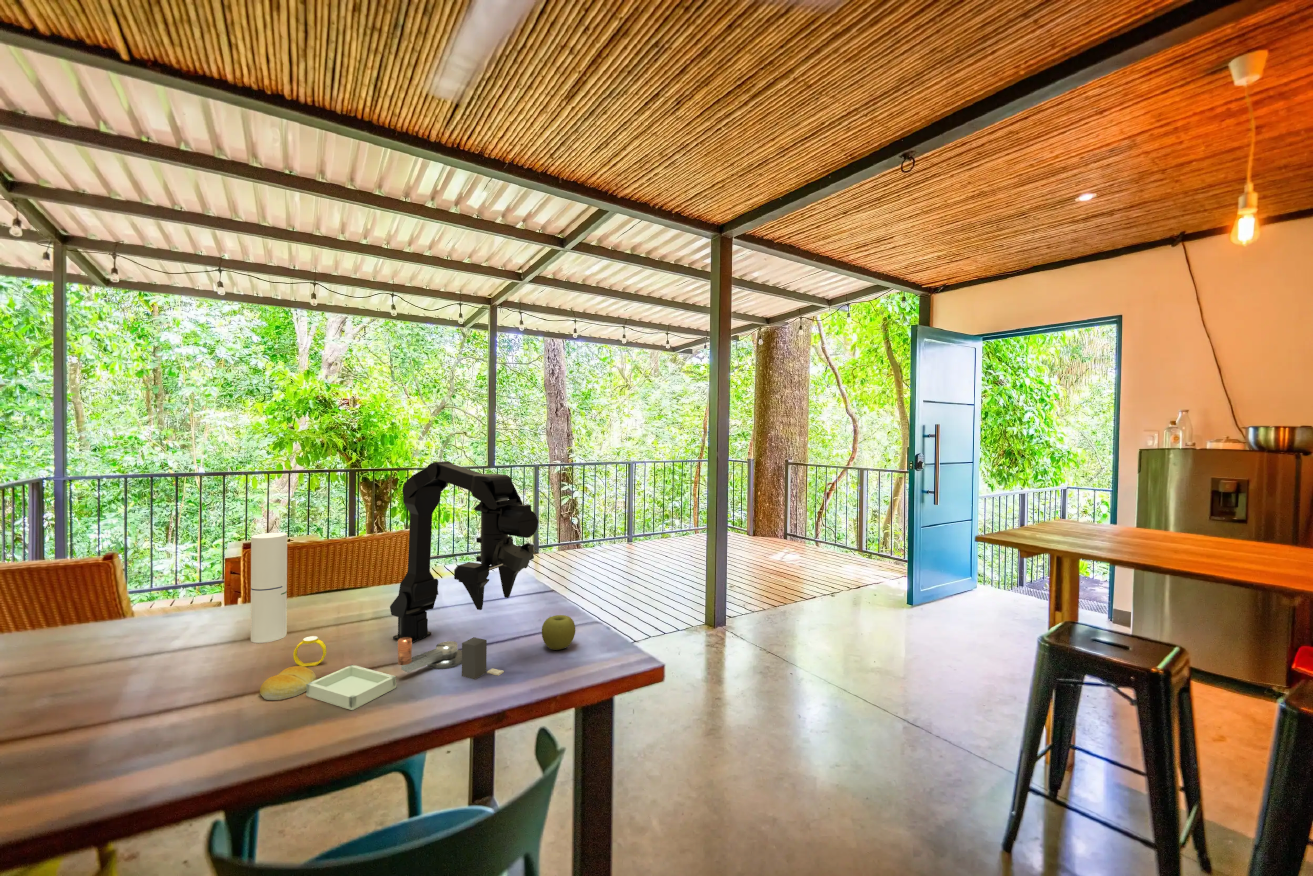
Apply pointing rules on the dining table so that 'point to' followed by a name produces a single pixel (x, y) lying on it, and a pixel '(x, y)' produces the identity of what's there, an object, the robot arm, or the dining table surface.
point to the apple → (558, 632)
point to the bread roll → (287, 683)
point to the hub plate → (448, 662)
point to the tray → (351, 686)
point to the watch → (308, 641)
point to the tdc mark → (495, 671)
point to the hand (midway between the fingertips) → (493, 603)
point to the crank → (423, 654)
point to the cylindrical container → (268, 587)
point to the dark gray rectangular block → (474, 658)
